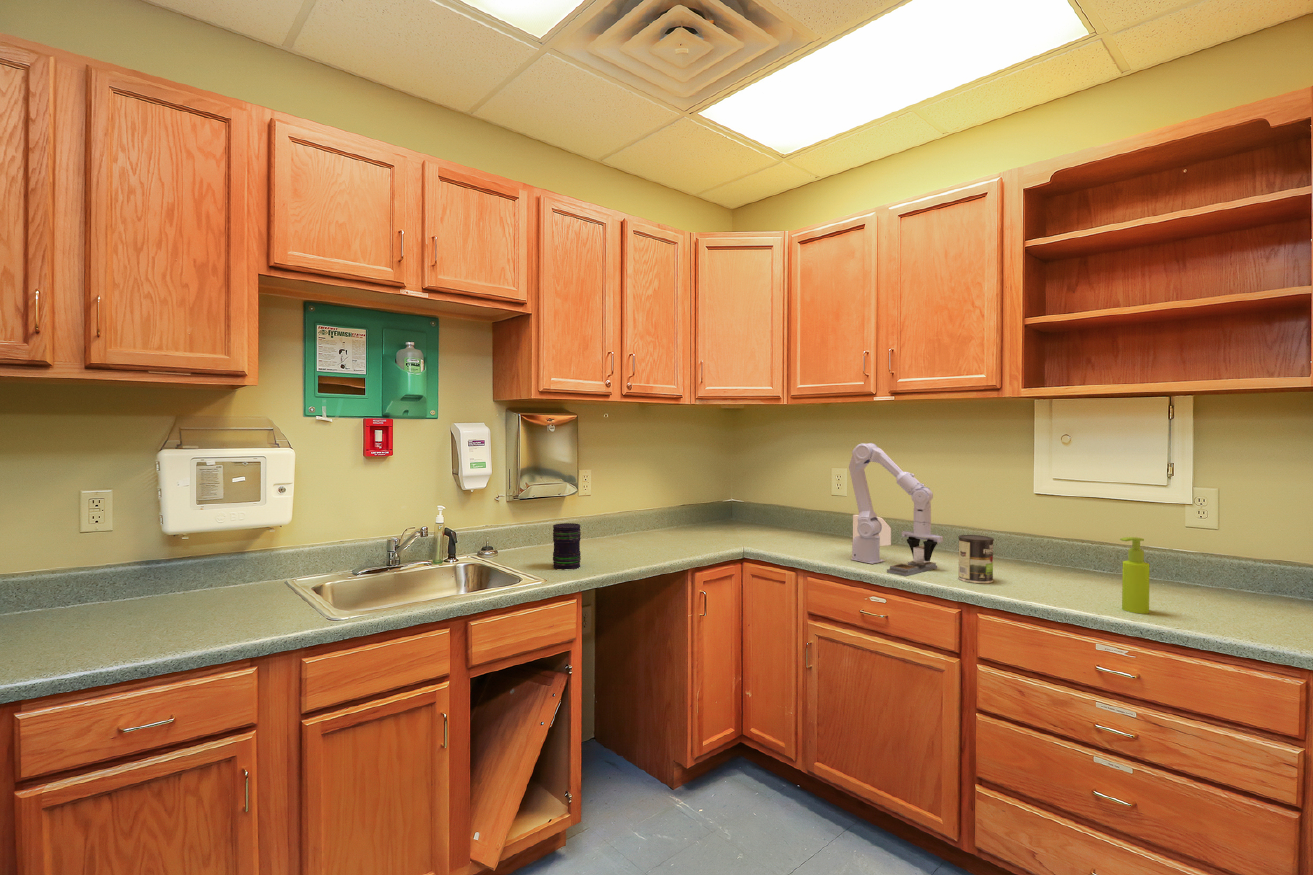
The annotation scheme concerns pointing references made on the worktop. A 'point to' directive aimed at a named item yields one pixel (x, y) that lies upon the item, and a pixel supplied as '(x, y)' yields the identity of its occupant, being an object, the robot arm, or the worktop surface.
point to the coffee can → (976, 559)
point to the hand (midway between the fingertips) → (921, 559)
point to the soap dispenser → (1135, 579)
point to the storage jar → (566, 546)
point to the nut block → (919, 555)
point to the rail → (911, 568)
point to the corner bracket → (884, 534)
